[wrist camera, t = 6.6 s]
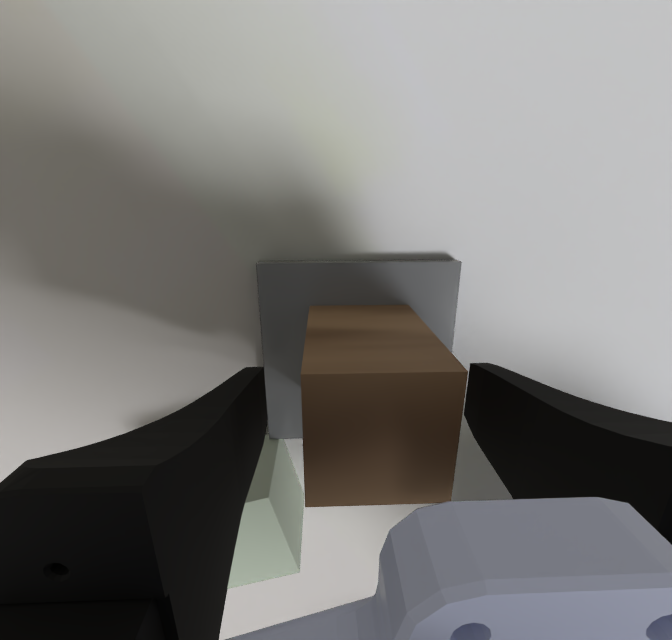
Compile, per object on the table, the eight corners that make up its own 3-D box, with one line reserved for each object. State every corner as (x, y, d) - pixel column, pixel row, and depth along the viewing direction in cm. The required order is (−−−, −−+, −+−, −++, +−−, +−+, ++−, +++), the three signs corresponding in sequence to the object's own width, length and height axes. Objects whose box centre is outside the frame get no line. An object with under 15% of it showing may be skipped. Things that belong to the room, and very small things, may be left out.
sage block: (280, 430, 16) (268, 497, 13) (304, 493, 18) (299, 572, 14) (201, 450, 17) (165, 522, 13) (230, 511, 18) (205, 594, 14)
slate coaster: (456, 259, 14) (461, 261, 13) (438, 426, 17) (442, 434, 16) (258, 261, 14) (256, 263, 13) (271, 430, 16) (269, 439, 16)
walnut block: (402, 391, 15) (450, 502, 9) (311, 393, 15) (305, 506, 9) (408, 304, 14) (467, 371, 8) (309, 305, 14) (300, 374, 8)
